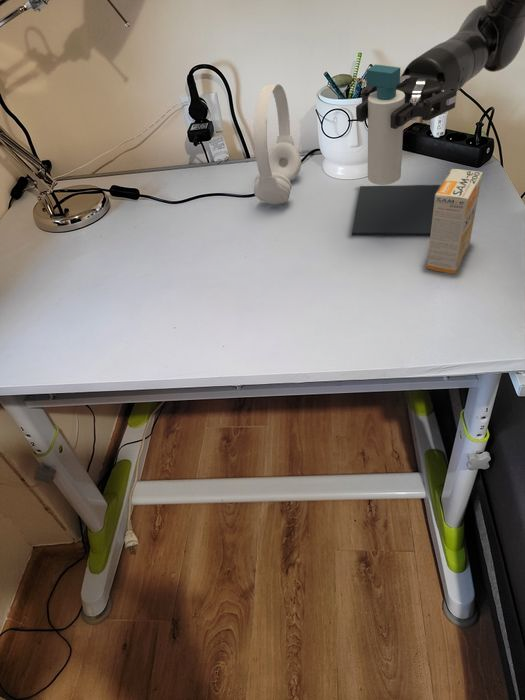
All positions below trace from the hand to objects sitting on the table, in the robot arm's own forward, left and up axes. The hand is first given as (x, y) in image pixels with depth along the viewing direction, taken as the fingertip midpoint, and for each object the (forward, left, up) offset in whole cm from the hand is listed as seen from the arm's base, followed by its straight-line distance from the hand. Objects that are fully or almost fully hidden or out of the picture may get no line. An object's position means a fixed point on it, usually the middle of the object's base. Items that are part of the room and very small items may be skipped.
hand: (375, 118), depth 71 cm
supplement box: (-12, +2, -22) cm, 25 cm away
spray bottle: (-1, -2, -10) cm, 10 cm away
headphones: (+20, -19, -22) cm, 35 cm away
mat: (-4, -12, -22) cm, 25 cm away
